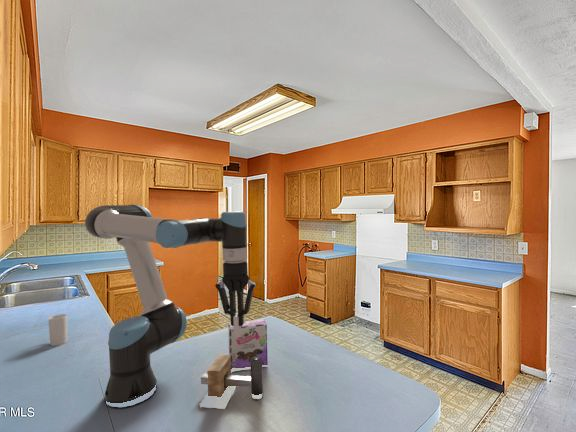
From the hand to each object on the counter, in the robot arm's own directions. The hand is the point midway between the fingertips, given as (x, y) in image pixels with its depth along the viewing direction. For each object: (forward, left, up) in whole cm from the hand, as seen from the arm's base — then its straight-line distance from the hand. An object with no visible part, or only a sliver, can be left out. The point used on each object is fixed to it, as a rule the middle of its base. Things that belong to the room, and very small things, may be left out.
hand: (237, 335), depth 98 cm
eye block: (-6, 0, -19) cm, 20 cm away
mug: (-95, +29, -20) cm, 101 cm away
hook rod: (-2, 0, -19) cm, 19 cm away
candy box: (-2, +18, -20) cm, 27 cm away
